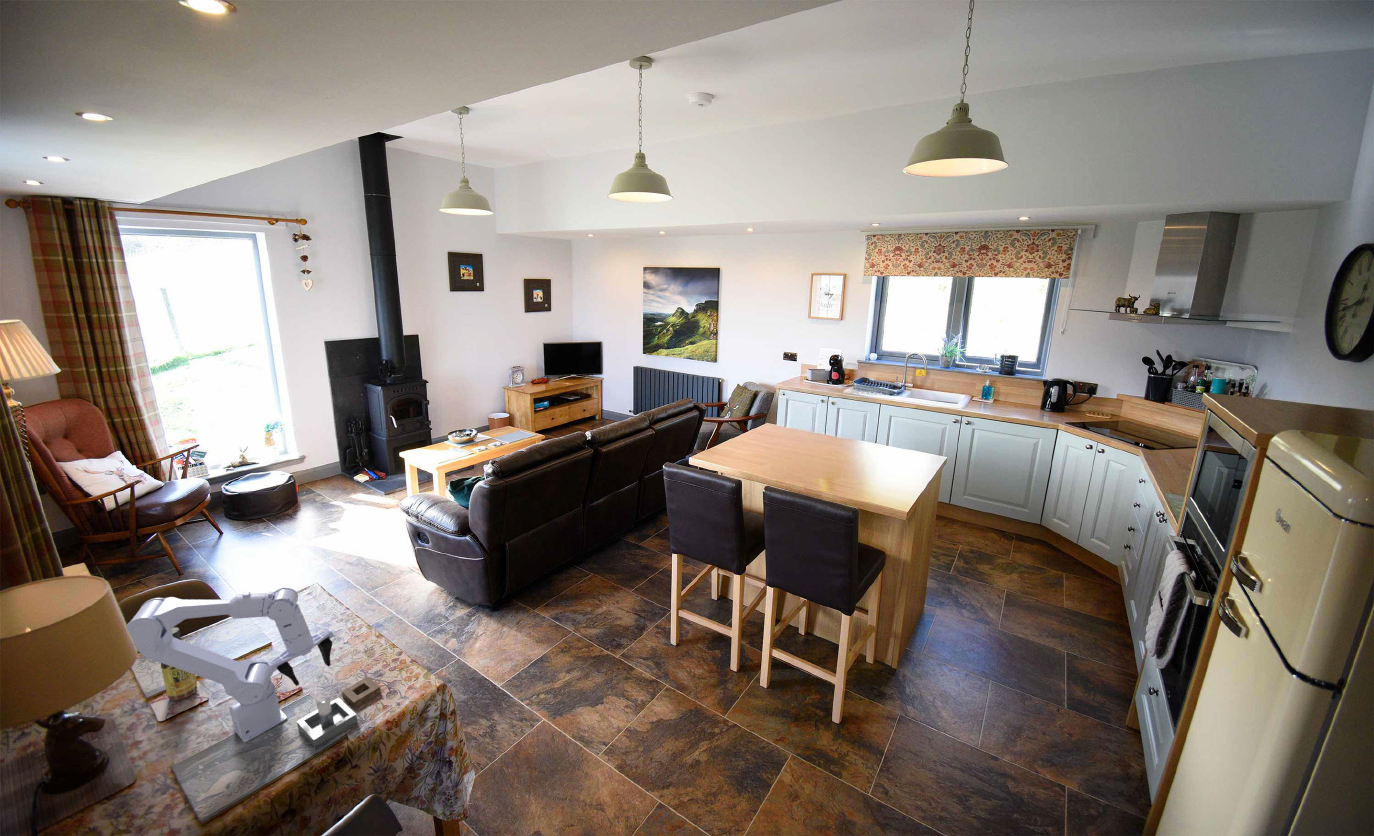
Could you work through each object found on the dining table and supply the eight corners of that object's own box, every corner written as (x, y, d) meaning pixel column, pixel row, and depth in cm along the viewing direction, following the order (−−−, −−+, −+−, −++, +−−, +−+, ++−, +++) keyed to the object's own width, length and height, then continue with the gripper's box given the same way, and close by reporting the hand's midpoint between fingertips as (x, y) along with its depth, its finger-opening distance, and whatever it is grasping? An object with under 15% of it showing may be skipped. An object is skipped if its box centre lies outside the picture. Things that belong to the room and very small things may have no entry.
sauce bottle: (180, 703, 149) (163, 642, 144) (162, 700, 150) (144, 638, 145) (205, 686, 155) (189, 626, 150) (187, 683, 156) (171, 623, 151)
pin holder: (354, 708, 148) (353, 702, 148) (342, 697, 152) (341, 691, 151) (381, 692, 154) (380, 686, 153) (368, 682, 157) (367, 676, 157)
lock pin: (323, 730, 140) (319, 707, 138) (319, 724, 141) (315, 702, 139) (335, 723, 142) (331, 701, 140) (331, 718, 143) (327, 696, 142)
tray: (315, 749, 135) (313, 740, 134) (298, 730, 141) (296, 721, 140) (357, 723, 143) (356, 714, 142) (340, 706, 149) (338, 697, 148)
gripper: (268, 656, 134) (287, 699, 138) (331, 621, 144) (347, 661, 149) (258, 646, 138) (277, 688, 142) (320, 612, 149) (336, 652, 153)
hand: (312, 673), depth 146 cm, fingers open, 7 cm apart
